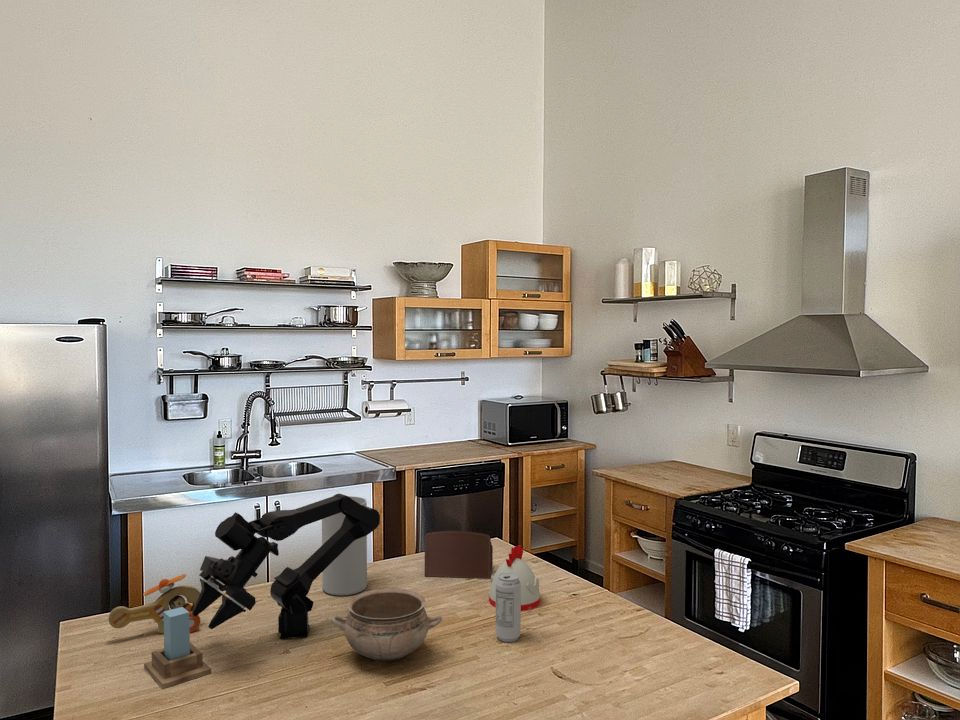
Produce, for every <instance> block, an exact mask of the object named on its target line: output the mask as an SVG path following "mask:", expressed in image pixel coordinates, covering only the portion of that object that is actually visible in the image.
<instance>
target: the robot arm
mask: <svg viewBox="0 0 960 720" xmlns="http://www.w3.org/2000/svg"><path fill="white" fill-rule="evenodd" d="M349 496H350V495H349ZM349 496H348V495H347V494H346V495H345V494H342V493H336V494H334V495H332V496H330V497H326V498H323V499H320V500H318V501H315V502H312V503H309V504H307V505H303V506H301V507H300V506H299V507H297V508H295V509H282V510H281V509H278V510H272V511H268V512H265V513H264V514H262V515H261V517H260V518H259V517H258V518H257V519H254V520H251V521H247V520H246V519H245V517H243V515H241V514H240V513H238V512H237V511H236V512H234V513H233V514H232V515H231V516H228V517H227V518H226V519H224V520H223V521H220V523H219V524H218V526H217V527H216V530H215V532H214V536H215V538H217V539H218V540H219V541H221V542H222V543H224V544H225V545H226V546H227V547H228V548H229V549H231V550H233V551H239V552H238V553H237V554H236V556H235V557H234V556H233V555H231V556H229V557H228V558H227V559H223V558H222V557H221V558H216V557H214V556H212V557H211V556H208V555H205V556H204V559H203V560H202V564H201V565H200V568H199V570H200V573H199V574H198V576H200V578H199V582H200V586H201V589H200V595H199V598H198V600H197V603H196V605H195V608H194V610H193V612H192V614H193V615H194V616H197V615H200V614H201V613H202V612H204V611H205V610H206V609H207V608H208V607H210V606H211V605H212V604H213V603H215V602H216V601H217V600H218V599H219V598H221V605H220V606H219V608H218V609H217V611H216V612H215V614H214V615H213V617H212V619H211V620H210V622H209V624H208V629H210V630H213V629H215V628H216V627H218V626H220V625H221V624H224V623H225V622H227V621H228V620H230V619H232V618H233V617H236V616H238V615H240V614H241V613H243V612H244V613H246V612H247V610H249V611H251V610H252V609H253V608H254V606H255V605H256V603H257V601H256V597H255V596H254V595H253V594H251V593H250V592H248V591H247V589H246V588H245V586H246V584H247V583H248V582H249V581H250V579H251V578H252V577H253V578H257V576H258V575H259V573H258V572H256V571H257V570H258V569H259V568H260V566H261V565H262V564H263V562H264V561H265V559H266V558H267V557H268V556H269V555H270V553H271V554H272V555H275V556H277V557H278V556H279V554H280V553H279V543H277V542H279V541H283V540H285V539H287V538H289V537H291V536H293V535H294V534H295V533H296V532H297V531H298V530H299V529H301V528H302V527H305V526H307V525H310V524H312V523H315V522H318V521H322V519H324V518H327V517H330V516H332V515H335V514H338V513H342V514H344V515H345V518H344V521H343V523H342V526H341V528H340V529H339V530H338V531H337V532H336V533H335V534H334V535H333V536H331V537H330V538H329V539H328V540H327V541H326V542H325V543H324V544H323V545H322V544H321V546H320V547H319V548H318V549H316V550H315V552H313V553H312V554H311V555H310V556H309V557H308V558H307V559H306V560H305V561H304V562H303V563H302V564H301V565H300V566H298V567H297V568H294V569H293V568H291V567H289V566H287V567H285V568H284V569H283V570H282V572H281V573H280V574H278V575H277V576H275V577H274V579H273V582H272V583H271V585H270V592H269V593H270V597H271V599H272V600H274V601H275V602H276V604H277V605H278V606H279V607H281V609H280V612H279V614H278V619H277V621H278V623H277V626H278V627H277V630H278V635H279V639H281V640H284V639H285V640H286V639H299V638H300V639H301V638H307V637H308V636H309V631H310V624H309V612H311V611H312V609H313V607H314V601H313V600H312V599H311V598H309V597H308V594H309V593H310V589H311V587H312V584H313V582H314V581H315V580H316V579H317V578H318V577H319V576H320V575H321V573H322V572H323V571H324V570H325V569H326V568H327V567H328V566H329V565H330V564H331V563H332V562H333V561H334V560H335V559H336V558H337V557H338V556H339V555H340V554H341V553H342V552H343V551H344V550H345V549H346V548H347V547H348V546H349V545H350V544H351V543H352V542H353V541H355V540H357V539H359V538H362V537H364V536H368V535H369V534H371V533H372V532H374V531H375V530H376V529H377V528H378V527H379V526H380V524H381V522H380V521H381V515H380V513H379V511H378V510H377V509H375V508H373V507H370V506H364V505H361V504H359V503H357V502H355V501H354V500H352V499H351V498H350V497H349ZM255 534H257V535H259V537H256V535H255ZM267 538H269V539H271V540H273V541H272V542H271V541H270V540H268V539H267ZM275 541H276V542H275ZM224 591H225V594H226V595H225V594H223V593H222V592H224ZM246 609H247V610H246Z"/></svg>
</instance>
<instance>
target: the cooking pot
mask: <svg viewBox="0 0 960 720" xmlns="http://www.w3.org/2000/svg"><path fill="white" fill-rule="evenodd" d="M425 606H426V599H425V597H424V596H423V595H422V594H420V593H418V592H416V591H413V590H410V589H405V588H404V589H403V588H379V589H372V590H369V591H365V592H362V593H361V592H360V593H358V594H357V595H354V597H352V598H351V599H350V600H349V601H348V604H347V608H348V610H349V611H348V613H347V616H346V617H342V616H339V615H334V616H333V617H332V618H331V623H332V624H333V625H335V627H337V628H338V629H340V630H342V631H343V632H344V634H345V638H346V641H347V643H348V644H349V646H350V647H351V648H352V649H353V651H354V652H357V653H358V654H359V655H361V656H364V657H366V658H368V659H371V660H374V661H376V662H379V663H391V662H395V661H398V660H399V659H401V658H403V657H406V656H408V655H410V654H412V653H414V652H415V651H416V650H418V648H420V646H421V645H422V644H423V642H425V639H426V637H427V635H428V632H429V630H431V629H433V628H435V627H437V626H438V625H440V623H441V622H442V620H443V618H442V616H440V615H438V616H432V617H431V616H428V613H427V611H426V609H425ZM338 621H339V622H338ZM340 622H341V623H340Z"/></svg>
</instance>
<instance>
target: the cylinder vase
mask: <svg viewBox="0 0 960 720" xmlns="http://www.w3.org/2000/svg"><path fill="white" fill-rule="evenodd" d="M349 497H350V498H351V499H352V500H354V501H355V502H357V503H359V504H361V505H364V506H367V499H366V498H364V497H360V496H351V495H349ZM367 507H368V506H367ZM344 518H345V515H344V514H342V513H338V514H335V515H332V516H330V517H327V518H324V519H321V546H322V545H323V544H324V543H325V542H326V541H327V540H328V539H329V538H330V537H331V536H333V535H334V534H335V533H336V532H337V531H338V530H339V529H340V528H341V526H342V523H343V521H344ZM367 536H368V535H367ZM367 536H364V537H362V538H359V539H357V540H355V541H353V542H352V543H351V544H350V545H349V546H348V547H347V548H346V549H345V550H344V551H343V552H342V553H341V554H340V555H339V556H338V557H337V558H336V559H335V560H334V561H333V562H332V563H331V564H330V565H329V566H328V567H327V568H326V569H325V570H324V571H323V572H322V575H321V577H322V578H321V580H322V581H321V583H322V586H321V587H322V590H323V591H324V592H325V593H326V594H328V595H332V596H338V597H340V596H341V597H342V596H345V597H346V596H353V595H356V594H360V593H361V592H363V591H364V590H366V589H367V586H368V539H367V538H368V537H367Z"/></svg>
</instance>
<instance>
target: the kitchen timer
mask: <svg viewBox="0 0 960 720" xmlns="http://www.w3.org/2000/svg"><path fill="white" fill-rule="evenodd" d="M510 551H511V552H509V553H508V558H505V561H504V562H503V563H501V564H500V565H499V567H498V568H497V569H496V572H494V574H491V577H490V584H491V585H490V587H489V590H488V591H489V592H488V603H489V602H490V603H489V604H490V605H491V606H492V607H493V608H495V609H496V581H497V580H498V576H499V575H500V574H502V573H514V574H516V575H518V579H519V581H520V583H521V612H525V611H529V610H533V609H534V608H538V607H539V605H540V604H541V593H540V583H539V582H540V581H539V577H536V576H535V574H534V572H533V570H532V569H531V567H530V565H528V564H527V562H525V561H524V560H523V553H524V548H523V547H522V545H519V544H518V545H516V546H514V547H511V549H510Z"/></svg>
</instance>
